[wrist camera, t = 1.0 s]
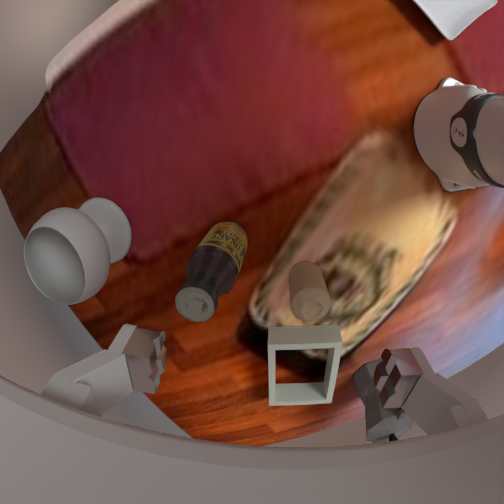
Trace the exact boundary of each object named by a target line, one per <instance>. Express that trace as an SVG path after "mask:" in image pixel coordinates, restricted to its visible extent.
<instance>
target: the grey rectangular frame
mask: <svg viewBox="0 0 504 504" xmlns="http://www.w3.org/2000/svg"><path fill="white" fill-rule="evenodd" d="M342 343H343V342H342V338H341V334H340V331H339V327H338V324H336V325H314V326H279V327H268V373H269V405H307V404H324V403H331V402H332V398H333V393H334V388H335V383H336V377H337V372H338V366H339V361H340V355H341V349H342ZM321 348H328V355H327V362H326V369H325V376H324V382H317V383H294V384H276V362H275V350H296V349H321Z"/></svg>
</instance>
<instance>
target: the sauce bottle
mask: <svg viewBox="0 0 504 504" xmlns="http://www.w3.org/2000/svg"><path fill="white" fill-rule="evenodd" d="M247 246H248V237H247V234H246V232H245V230H244V229H243V228H242V227H241V225H239V224H237V223H235V222H232V221H224V222H220V223H218V224H216V225H214V226H213V227H212V228H211V229H210V230H209V232H208V233H207V235H206V236H205V237H204V239H203V240H202V241H201V243H200V244H199V245H198V246H197V248H196V249H195V250H194V252H193V254H192V256H191V257H190V258H189V259H188V262H187V265H186V269H185V276H186V280H187V282H186V283H185V284H184V285H182V286H181V288H180V289H179V291H178V293H177V295H176V298H175V305H176V308H177V310H178V312H179V313H180V314H181V315H182V316H183V317H185V318H186V319H188V320H190V321H193V322H202V321H206V320H208V319H209V318H210V317H212V315H213V314H214V312H215V310H216V308H217V304H218V301H217V300H218V297H219V296H220V295H223V294H227V293H229V292H230V290H231V288H232V286H233V284H234V282H235V280H236V279H237V277H238V275H239V272H240V269H241V266H242V262H243V259H244V256H245V253H246V250H247Z"/></svg>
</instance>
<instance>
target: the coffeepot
mask: <svg viewBox="0 0 504 504" xmlns="http://www.w3.org/2000/svg"><path fill="white" fill-rule="evenodd" d="M381 361H382V360H376V361H372V362H369V363H367V364H365V365H363V366H362V367H361V368H359V370H358V371H357V372H356V373H355V374H354V386H355V388H356V390H357V392H358V394H359V396H360V398H361V400H362V402H363V404H364V405H365V416H366V435H367V441H372V442H373V443H382V442H387V441H396V440H398V439H397V438H398V437H400V436H401V435H402V434H404V433H405V432H406V431H408V430H409V429H410V428H411V426H412V422H413V420H412V419H411V418H410V417H409V416H408V414H407V413H406V412H405V411H404V410H403V409H402V407H397V408H382V405H381V402H380V399H379V394H380V392H381V391H379V390H378V389H377V388H376V387H375V384H374V371H375V368H376V366H377V364H379V363H380V362H381Z"/></svg>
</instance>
